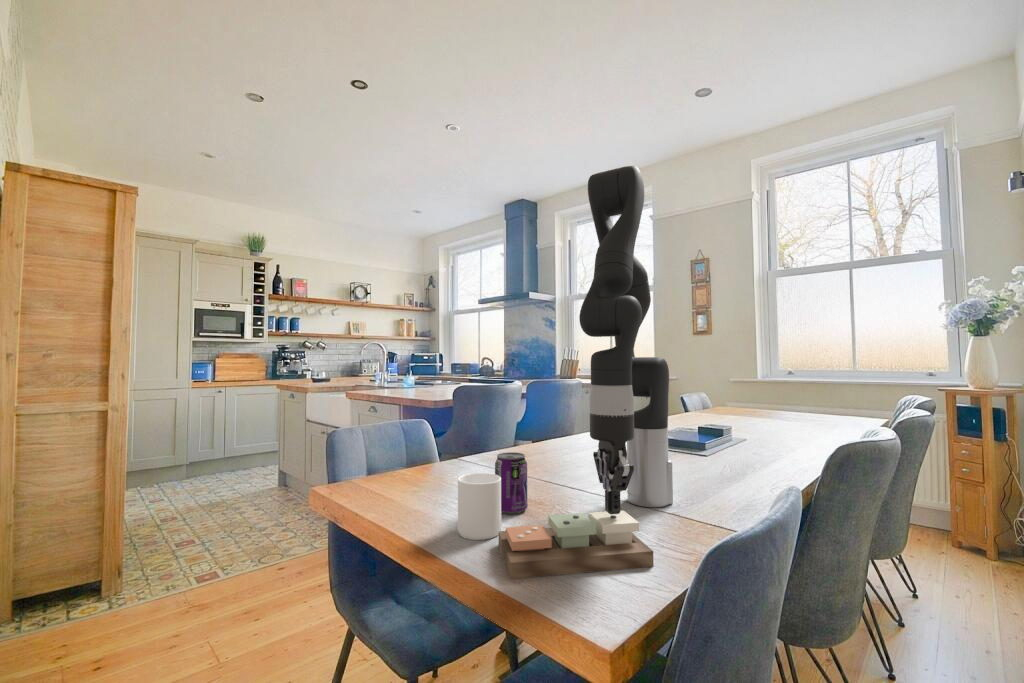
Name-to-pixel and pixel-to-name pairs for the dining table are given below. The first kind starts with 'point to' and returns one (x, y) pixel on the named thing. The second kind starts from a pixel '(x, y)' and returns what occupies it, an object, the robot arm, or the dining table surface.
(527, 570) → the keypad board
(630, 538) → the key one
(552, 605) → the dining table surface
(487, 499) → the mug
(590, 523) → the key two
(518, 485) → the beverage can
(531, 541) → the key three
